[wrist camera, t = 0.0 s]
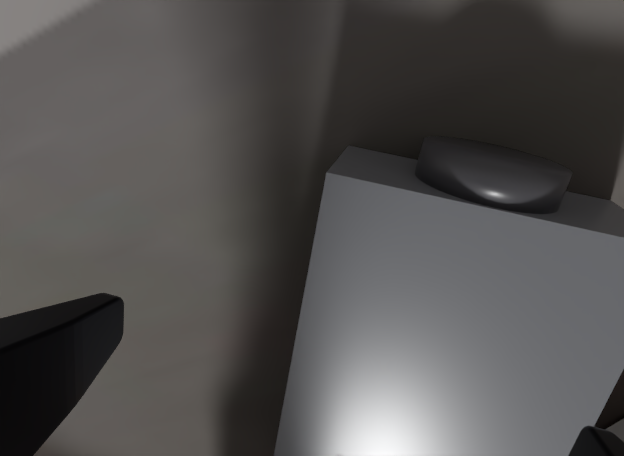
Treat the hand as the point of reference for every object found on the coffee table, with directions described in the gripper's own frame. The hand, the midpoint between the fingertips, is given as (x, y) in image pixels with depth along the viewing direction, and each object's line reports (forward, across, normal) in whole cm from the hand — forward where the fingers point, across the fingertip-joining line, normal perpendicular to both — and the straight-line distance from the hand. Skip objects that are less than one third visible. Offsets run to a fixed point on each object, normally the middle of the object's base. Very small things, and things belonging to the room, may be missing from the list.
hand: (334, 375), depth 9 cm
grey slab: (+15, -4, +8) cm, 17 cm away
